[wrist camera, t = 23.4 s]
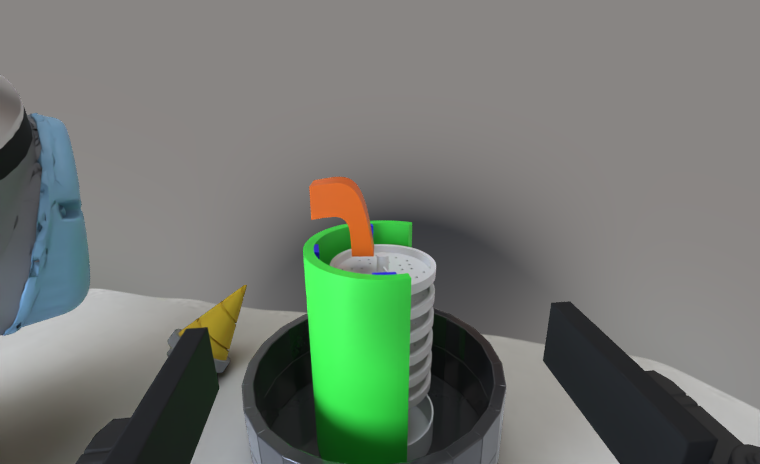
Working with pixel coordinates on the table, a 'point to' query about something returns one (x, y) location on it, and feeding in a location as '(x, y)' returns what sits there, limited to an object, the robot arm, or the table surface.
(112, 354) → the table surface
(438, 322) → the pot
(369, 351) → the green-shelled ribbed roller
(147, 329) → the table surface
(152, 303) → the table surface
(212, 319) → the spiral yellow cone
